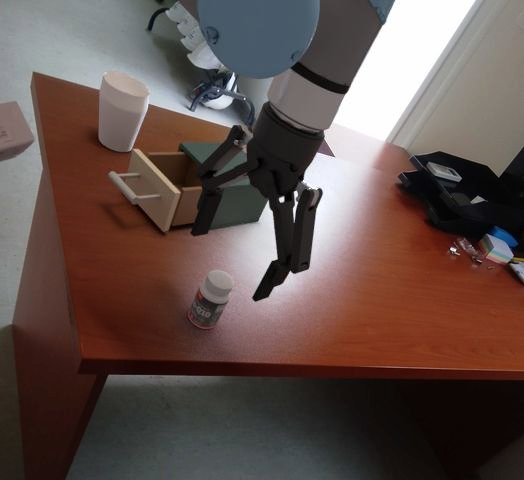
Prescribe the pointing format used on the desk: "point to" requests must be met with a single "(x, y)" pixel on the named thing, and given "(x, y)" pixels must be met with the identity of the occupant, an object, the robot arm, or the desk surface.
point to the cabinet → (229, 189)
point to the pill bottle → (211, 299)
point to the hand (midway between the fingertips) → (228, 264)
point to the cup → (121, 110)
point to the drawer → (162, 186)
